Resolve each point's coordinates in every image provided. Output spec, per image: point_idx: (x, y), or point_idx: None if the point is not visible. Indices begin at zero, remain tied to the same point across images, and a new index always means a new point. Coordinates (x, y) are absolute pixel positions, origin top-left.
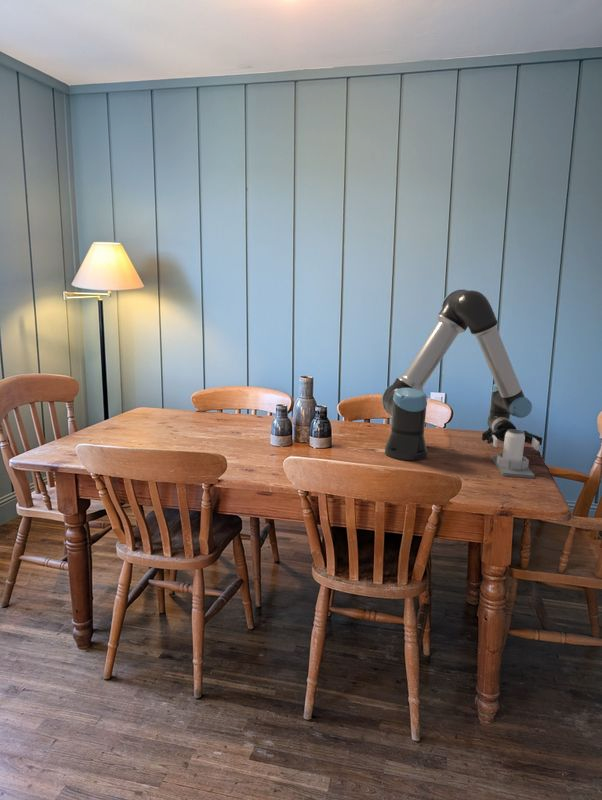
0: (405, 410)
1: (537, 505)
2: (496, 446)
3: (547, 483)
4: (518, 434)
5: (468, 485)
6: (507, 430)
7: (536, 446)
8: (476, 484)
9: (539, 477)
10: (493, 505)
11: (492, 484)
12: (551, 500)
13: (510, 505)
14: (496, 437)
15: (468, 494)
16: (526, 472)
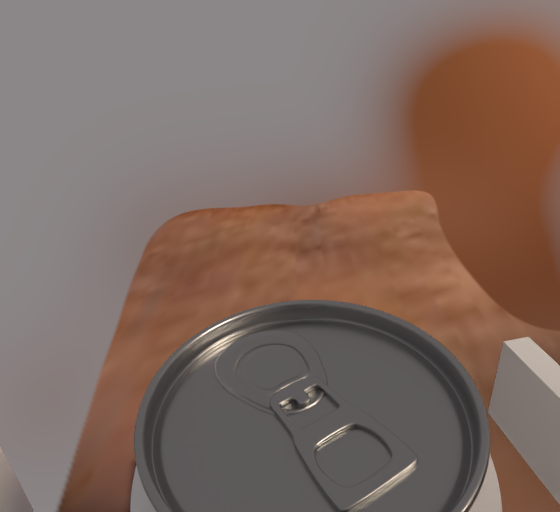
0: None
1: (220, 230)
2: (494, 402)
3: (99, 412)
4: (259, 324)
5: (460, 266)
6: (472, 410)
7: (13, 488)
8: (438, 282)
9: (105, 506)
10: (339, 201)
11: (379, 302)
12: (163, 264)
13: (296, 211)
14: None
15: (424, 221)
16: None
